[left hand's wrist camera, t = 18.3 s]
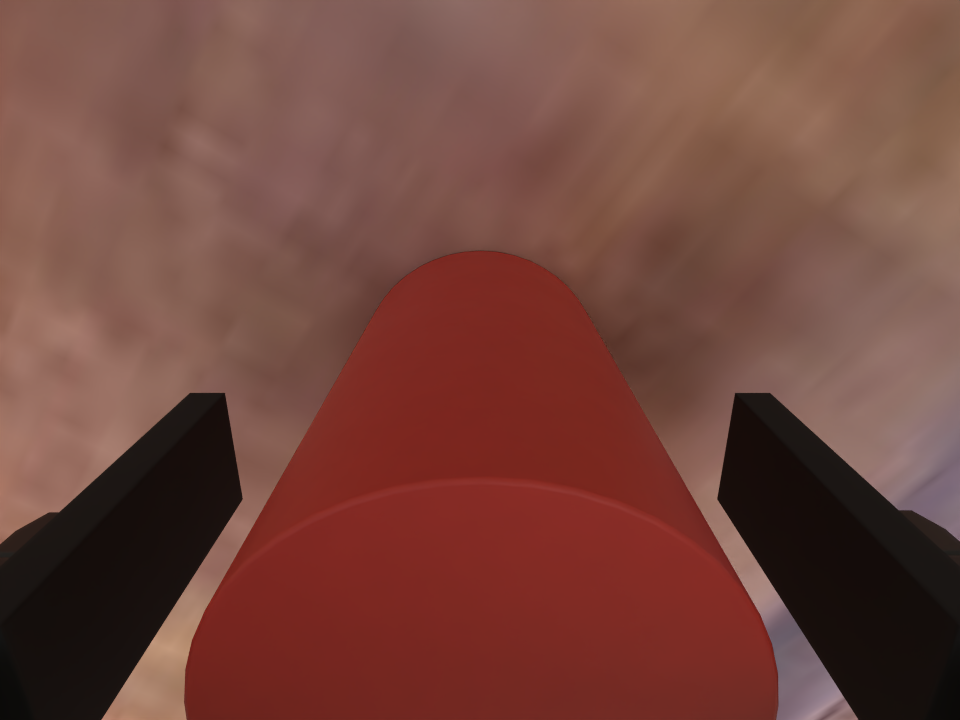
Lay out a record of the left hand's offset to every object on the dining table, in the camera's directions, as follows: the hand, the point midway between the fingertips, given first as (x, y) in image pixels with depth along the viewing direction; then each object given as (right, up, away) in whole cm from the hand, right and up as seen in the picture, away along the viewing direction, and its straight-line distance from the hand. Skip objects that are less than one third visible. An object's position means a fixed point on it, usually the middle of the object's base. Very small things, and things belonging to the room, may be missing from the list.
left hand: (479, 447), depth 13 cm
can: (0, +2, +5) cm, 5 cm away
